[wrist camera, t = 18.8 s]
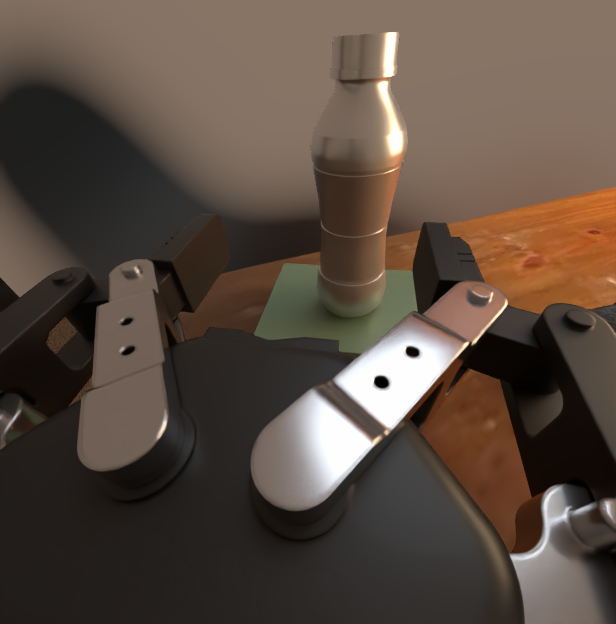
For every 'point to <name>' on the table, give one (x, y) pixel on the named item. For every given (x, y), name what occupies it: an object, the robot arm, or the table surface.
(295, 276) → the riser
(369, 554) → the robot arm
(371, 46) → the silver metal bottle
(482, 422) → the table surface
